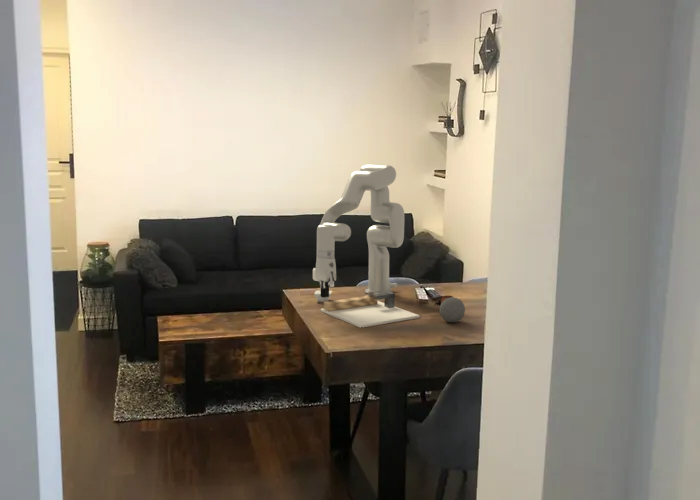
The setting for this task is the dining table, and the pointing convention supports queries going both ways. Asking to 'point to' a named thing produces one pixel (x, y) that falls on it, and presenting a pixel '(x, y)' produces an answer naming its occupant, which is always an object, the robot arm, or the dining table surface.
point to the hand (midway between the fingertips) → (324, 296)
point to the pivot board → (371, 315)
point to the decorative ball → (452, 309)
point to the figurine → (318, 292)
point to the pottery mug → (441, 299)
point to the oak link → (351, 302)
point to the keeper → (386, 298)
